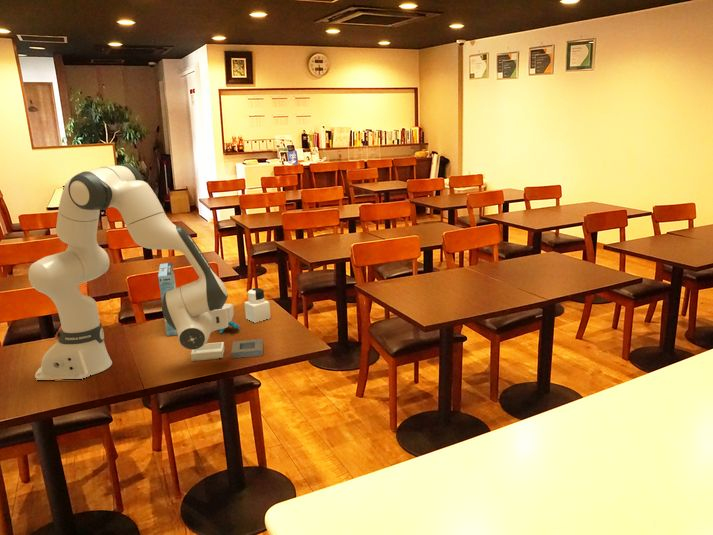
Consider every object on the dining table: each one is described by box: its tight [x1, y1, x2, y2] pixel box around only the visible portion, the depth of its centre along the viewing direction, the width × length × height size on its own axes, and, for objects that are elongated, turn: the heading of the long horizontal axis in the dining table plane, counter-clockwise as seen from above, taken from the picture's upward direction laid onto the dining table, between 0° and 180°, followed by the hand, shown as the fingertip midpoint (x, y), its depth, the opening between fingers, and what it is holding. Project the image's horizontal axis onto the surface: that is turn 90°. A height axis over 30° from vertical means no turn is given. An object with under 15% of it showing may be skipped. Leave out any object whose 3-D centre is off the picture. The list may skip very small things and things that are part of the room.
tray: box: [190, 341, 225, 362], centre depth 196 cm, size 10×8×2 cm
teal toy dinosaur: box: [219, 320, 241, 334], centre depth 216 cm, size 11×6×10 cm
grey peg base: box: [230, 338, 264, 359], centre depth 198 cm, size 10×10×2 cm
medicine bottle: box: [244, 287, 272, 324], centre depth 226 cm, size 7×7×12 cm
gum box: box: [157, 262, 178, 337], centre depth 221 cm, size 20×5×23 cm, turn 15°
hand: (203, 306), depth 193 cm, fingers closed on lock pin, 4 cm apart
